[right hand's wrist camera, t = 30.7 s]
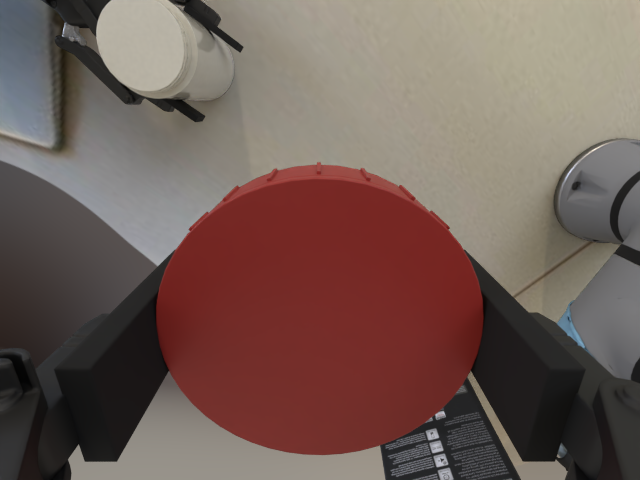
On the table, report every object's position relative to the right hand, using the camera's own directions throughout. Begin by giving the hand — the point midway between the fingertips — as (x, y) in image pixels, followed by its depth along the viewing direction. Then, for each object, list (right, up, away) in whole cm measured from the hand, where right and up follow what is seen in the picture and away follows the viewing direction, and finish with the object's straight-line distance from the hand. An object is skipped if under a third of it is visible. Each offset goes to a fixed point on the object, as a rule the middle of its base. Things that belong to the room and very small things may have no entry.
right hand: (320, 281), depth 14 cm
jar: (-16, +25, +33) cm, 44 cm away
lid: (0, -1, -3) cm, 3 cm away
